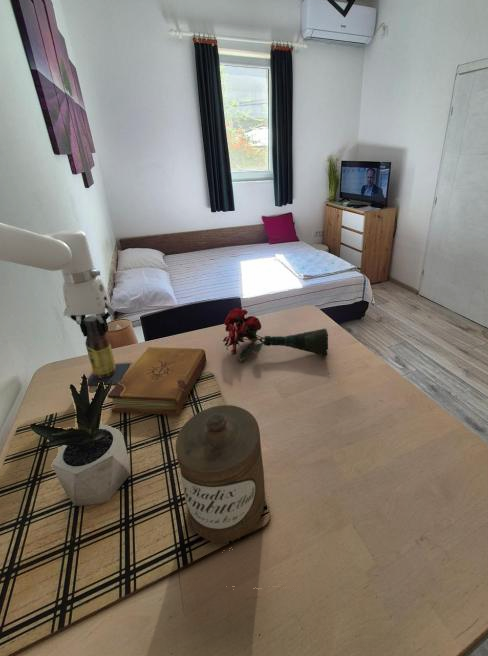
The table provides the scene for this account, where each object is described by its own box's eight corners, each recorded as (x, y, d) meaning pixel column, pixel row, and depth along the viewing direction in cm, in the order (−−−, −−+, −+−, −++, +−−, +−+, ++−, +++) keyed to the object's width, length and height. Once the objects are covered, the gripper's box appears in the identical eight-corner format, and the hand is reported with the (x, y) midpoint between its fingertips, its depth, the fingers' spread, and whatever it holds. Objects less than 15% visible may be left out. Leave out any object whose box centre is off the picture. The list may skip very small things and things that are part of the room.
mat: (83, 386, 97) (83, 385, 96) (98, 365, 106) (98, 365, 106) (118, 384, 97) (117, 383, 97) (130, 364, 106) (130, 363, 106)
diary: (180, 415, 85) (176, 398, 83) (112, 412, 87) (107, 395, 84) (206, 363, 106) (204, 348, 104) (151, 361, 108) (148, 346, 105)
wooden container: (177, 541, 58) (156, 452, 49) (202, 466, 71) (189, 386, 63) (259, 546, 57) (253, 456, 48) (269, 469, 70) (265, 389, 62)
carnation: (323, 369, 115) (223, 366, 114) (321, 320, 123) (228, 317, 122) (330, 358, 101) (217, 355, 100) (328, 303, 109) (223, 300, 108)
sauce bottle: (94, 369, 103) (80, 314, 95) (116, 365, 106) (104, 310, 98) (93, 382, 98) (77, 324, 90) (116, 376, 100) (103, 319, 92)
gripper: (117, 270, 93) (130, 326, 100) (55, 272, 91) (73, 328, 99) (105, 279, 86) (120, 338, 93) (39, 282, 85) (59, 342, 92)
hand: (96, 333), depth 96 cm, fingers closed on sauce bottle, 4 cm apart
